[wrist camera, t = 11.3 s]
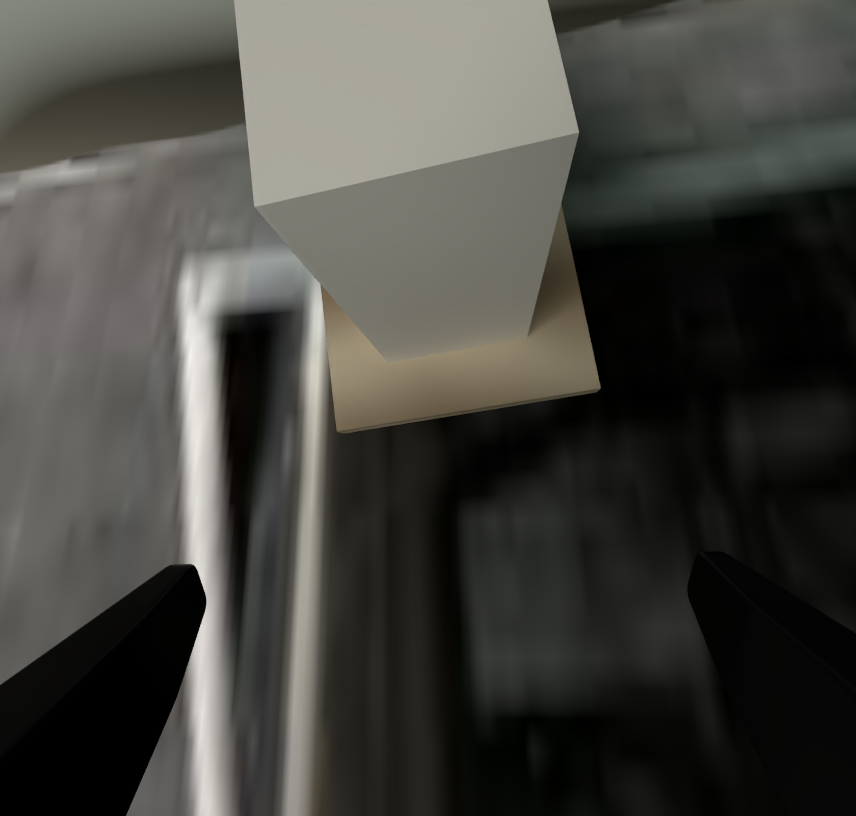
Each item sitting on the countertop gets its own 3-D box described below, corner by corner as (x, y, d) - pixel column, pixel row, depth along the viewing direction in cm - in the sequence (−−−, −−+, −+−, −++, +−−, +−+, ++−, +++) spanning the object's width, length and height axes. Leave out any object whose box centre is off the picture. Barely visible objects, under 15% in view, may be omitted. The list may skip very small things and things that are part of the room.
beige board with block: (596, 392, 18) (630, 363, 13) (343, 433, 19) (298, 418, 15) (546, 160, 20) (563, 66, 15) (317, 209, 21) (271, 136, 16)
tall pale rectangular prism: (526, 337, 18) (578, 132, 7) (388, 363, 18) (254, 207, 8) (501, 208, 19) (515, -134, 8) (370, 237, 19) (228, -51, 9)
